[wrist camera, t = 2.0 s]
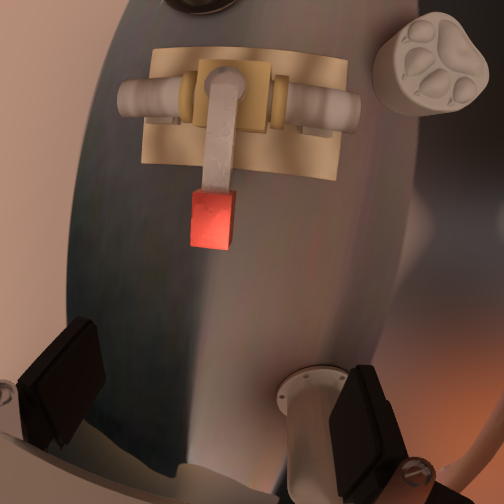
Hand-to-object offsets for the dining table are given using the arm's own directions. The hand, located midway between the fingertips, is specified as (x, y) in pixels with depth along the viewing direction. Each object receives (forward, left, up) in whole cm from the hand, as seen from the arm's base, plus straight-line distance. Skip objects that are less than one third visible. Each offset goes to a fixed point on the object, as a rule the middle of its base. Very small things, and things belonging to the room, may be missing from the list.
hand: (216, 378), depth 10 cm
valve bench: (+3, -12, -27) cm, 30 cm away
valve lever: (+3, -7, -16) cm, 17 cm away
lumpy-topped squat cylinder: (-17, -20, -27) cm, 38 cm away
